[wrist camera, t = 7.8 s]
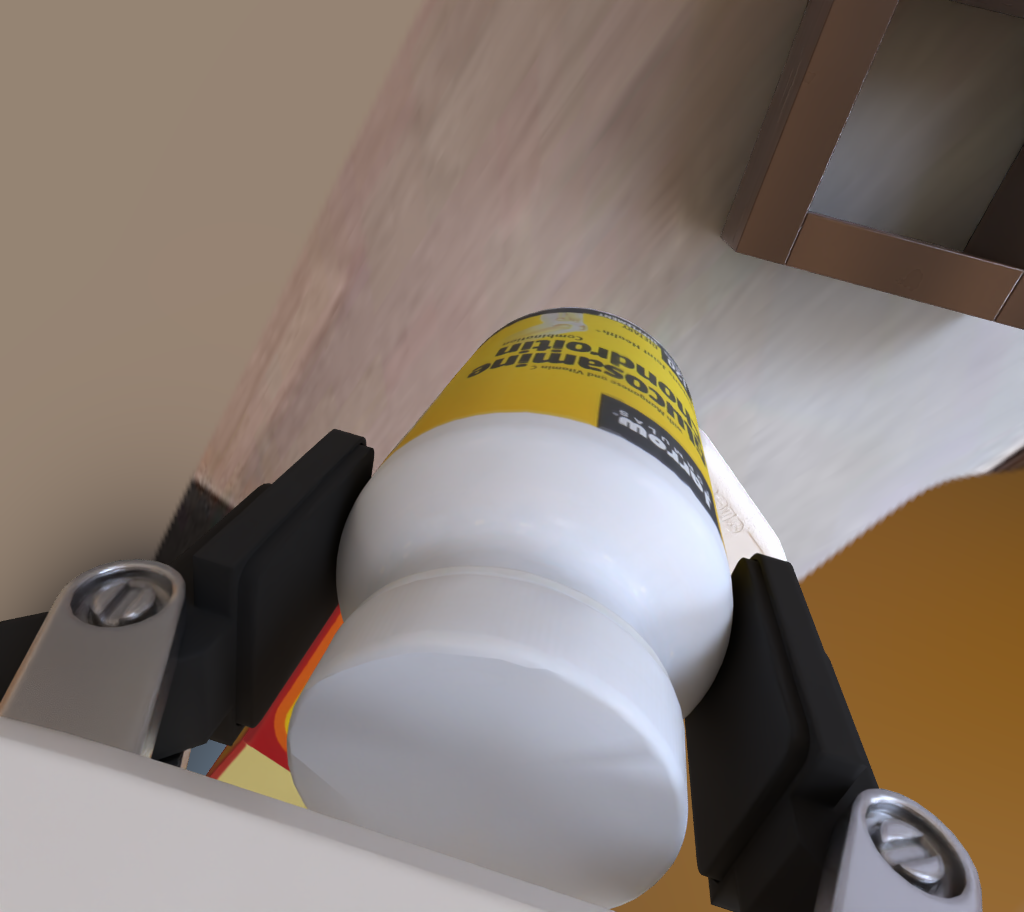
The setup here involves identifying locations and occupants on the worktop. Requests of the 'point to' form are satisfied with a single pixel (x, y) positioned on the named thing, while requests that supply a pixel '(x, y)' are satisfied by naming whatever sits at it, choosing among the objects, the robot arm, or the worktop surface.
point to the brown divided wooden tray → (806, 154)
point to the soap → (738, 513)
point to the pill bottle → (528, 617)
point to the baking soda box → (273, 733)
